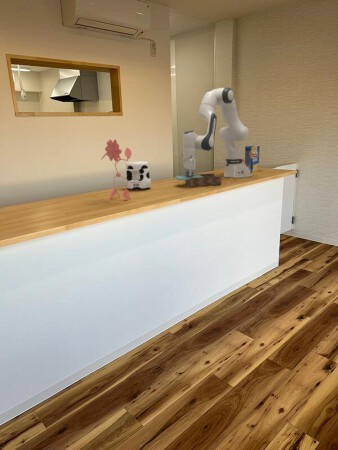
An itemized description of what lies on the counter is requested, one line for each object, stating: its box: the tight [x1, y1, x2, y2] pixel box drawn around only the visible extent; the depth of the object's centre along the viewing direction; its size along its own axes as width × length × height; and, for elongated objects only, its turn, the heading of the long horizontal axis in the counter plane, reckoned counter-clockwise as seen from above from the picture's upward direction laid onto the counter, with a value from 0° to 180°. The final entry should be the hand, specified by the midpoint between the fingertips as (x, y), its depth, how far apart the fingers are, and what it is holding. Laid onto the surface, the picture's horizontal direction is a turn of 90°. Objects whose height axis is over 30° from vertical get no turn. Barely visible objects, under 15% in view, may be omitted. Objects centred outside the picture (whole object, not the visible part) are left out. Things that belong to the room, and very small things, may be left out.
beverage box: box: [244, 145, 260, 174], centre depth 286 cm, size 7×11×22 cm, turn 130°
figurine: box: [100, 139, 132, 205], centre depth 189 cm, size 15×26×35 cm, turn 51°
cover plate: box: [174, 170, 203, 181], centre depth 231 cm, size 18×12×5 cm, turn 102°
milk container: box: [125, 160, 152, 191], centre depth 224 cm, size 17×17×18 cm
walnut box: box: [184, 172, 222, 188], centre depth 234 cm, size 22×15×6 cm, turn 102°
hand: (189, 175), depth 231 cm, fingers closed on cover plate, 2 cm apart
